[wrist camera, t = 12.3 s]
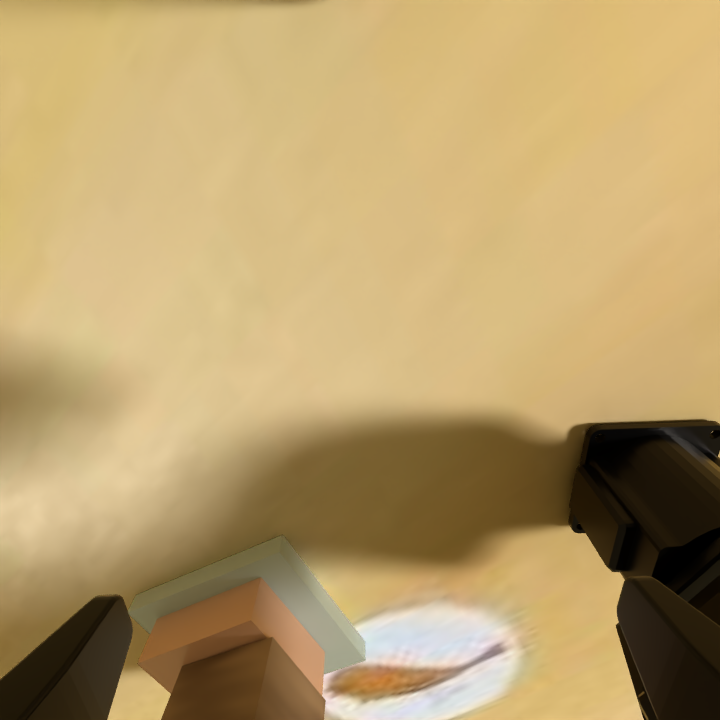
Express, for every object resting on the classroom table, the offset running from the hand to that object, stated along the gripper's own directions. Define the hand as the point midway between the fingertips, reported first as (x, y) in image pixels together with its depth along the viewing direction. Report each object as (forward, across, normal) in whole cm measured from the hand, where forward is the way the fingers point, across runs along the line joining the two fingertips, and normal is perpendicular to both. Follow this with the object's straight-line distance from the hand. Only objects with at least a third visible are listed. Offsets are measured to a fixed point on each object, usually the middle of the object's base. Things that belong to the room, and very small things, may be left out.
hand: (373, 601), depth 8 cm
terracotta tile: (+12, +8, +18) cm, 23 cm away
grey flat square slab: (+14, +7, +18) cm, 24 cm away
